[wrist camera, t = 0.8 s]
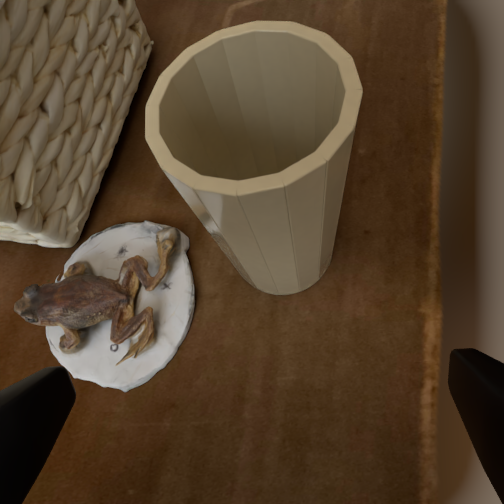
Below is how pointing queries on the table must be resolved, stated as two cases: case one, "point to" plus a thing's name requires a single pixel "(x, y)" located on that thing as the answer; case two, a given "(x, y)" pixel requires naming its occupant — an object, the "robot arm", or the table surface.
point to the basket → (62, 109)
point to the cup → (261, 145)
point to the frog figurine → (117, 304)
